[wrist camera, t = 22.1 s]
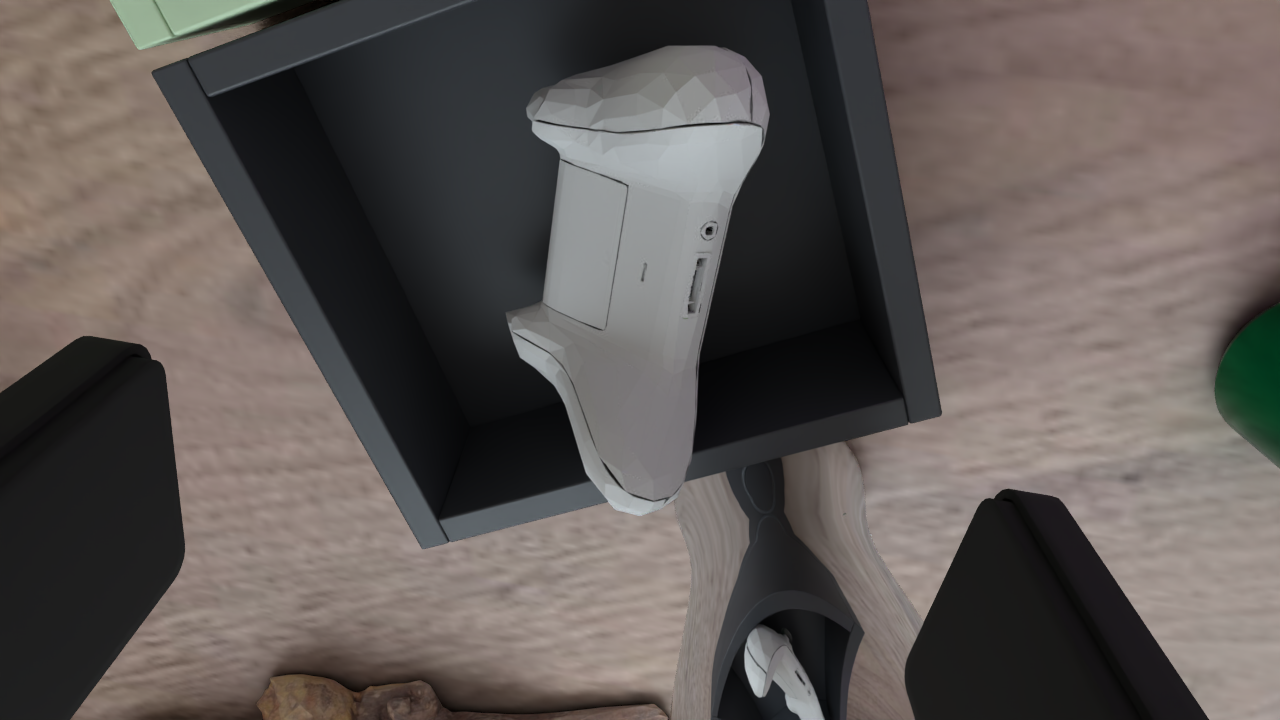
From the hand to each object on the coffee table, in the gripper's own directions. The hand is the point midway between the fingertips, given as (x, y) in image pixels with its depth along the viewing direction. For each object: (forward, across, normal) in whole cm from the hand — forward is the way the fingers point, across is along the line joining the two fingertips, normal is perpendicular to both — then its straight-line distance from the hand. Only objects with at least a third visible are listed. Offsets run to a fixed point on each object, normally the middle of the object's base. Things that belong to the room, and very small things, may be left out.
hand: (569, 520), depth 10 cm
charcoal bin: (+14, +1, +1) cm, 14 cm away
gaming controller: (+7, -3, +1) cm, 8 cm away
